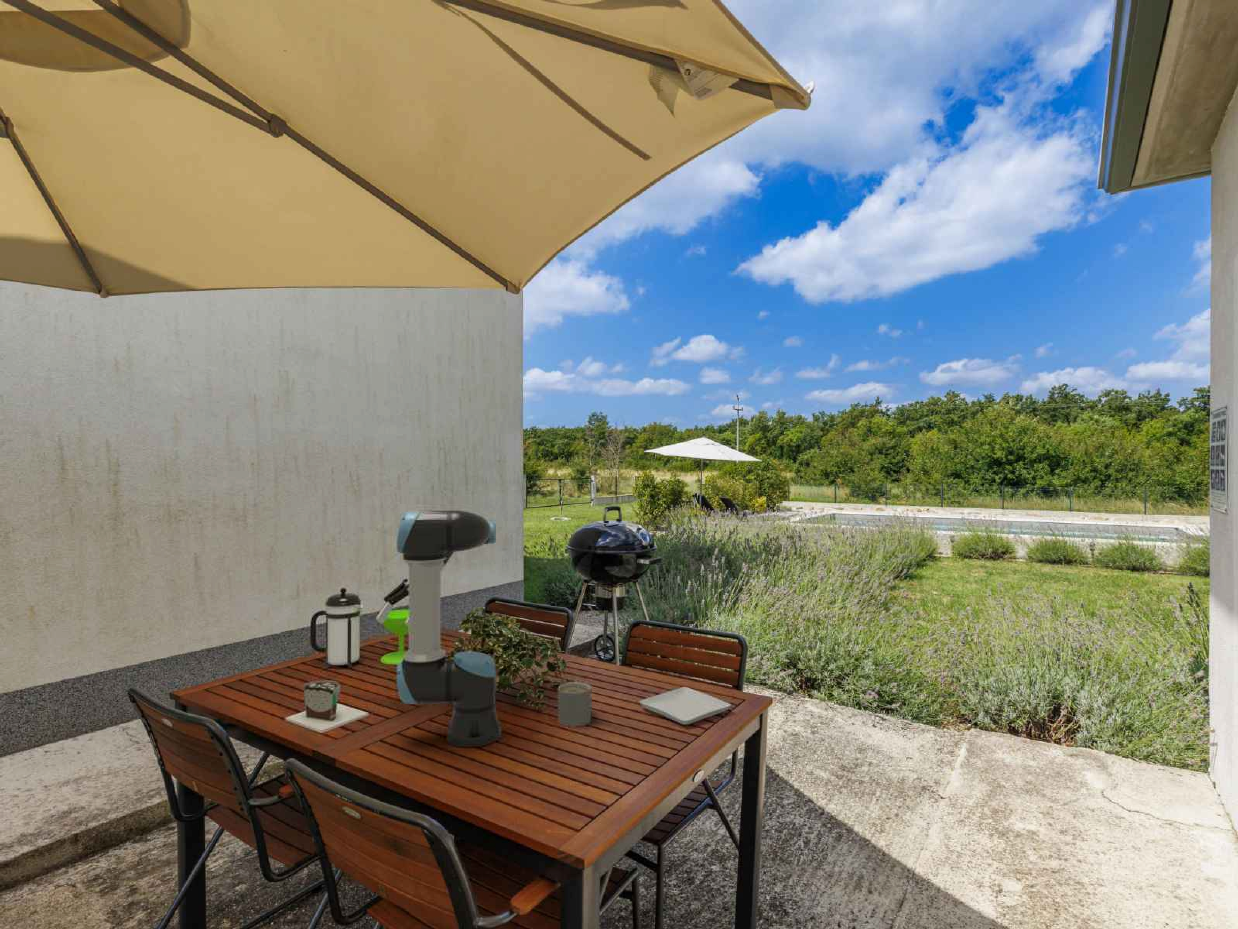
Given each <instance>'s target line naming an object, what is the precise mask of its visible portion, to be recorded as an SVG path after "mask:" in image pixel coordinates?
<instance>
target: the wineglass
mask: <svg viewBox="0 0 1238 929" xmlns="http://www.w3.org/2000/svg"><path fill="white" fill-rule="evenodd" d="M408 617H409V609H396V610H391V611H390V613H389V614H388V616H387V617H386V619H385V620H384V622H383V623H381V624H382V626H383V628H385V630H386V631H388V632H390V633H391V634H395V635H398V651H393V652H390V653H389V652H388V653H385V654H384V655H383V656H382V657H381V658H380V662H381V664H385V665H398V663H399V662H401V661H403V655H404V654H405V653H406V652H407V651H408V650H405V635H406V634H409V627H408V626H407V625H406V624H405V622H406V620H407V619H408Z"/></svg>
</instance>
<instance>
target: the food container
mask: <svg viewBox="0 0 1238 929" xmlns="http://www.w3.org/2000/svg"><path fill="white" fill-rule="evenodd" d="M302 692H303V693H304V707H305V708H304V709H305V710H304V711H306V718H311V719H318V720H324V721H330V722H331V721H333V720H334V719H335V718H336V709H337V703H338V699H339V698H338V697H339V694H340V692H341V686H340V684H339V682H338V681H335V680H327V679H326V680H325V679H324V680H316V681H311V682H306V683H304V684H303V686H302Z"/></svg>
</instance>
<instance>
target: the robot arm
mask: <svg viewBox="0 0 1238 929" xmlns="http://www.w3.org/2000/svg"><path fill="white" fill-rule="evenodd" d="M496 524H497V523H495V522H494V521H488V520H487V519H486V518H484V517H483V516H481V515H479V514H476V513H473V512H469V511H465V510H410V511H406V512H404V514H402V516H401V520H400V523H399V526H398V531H397V539H396V550H397V552H398V554H399V553H400V554H402V559H403V561H404V563H406V564H407V565H408V579H407V578H404V579H403V580H402V582H401V583H400V584H399V585H398V586H396V587H395V588H394V589H393V590H392V591H390V592H389V593H388V594H387V595H386V596H384V598H383V601H384V602H385V604H384V605H383V606H382V608H381V610H380V612H379V613H378V615H377V616H376V618H375V620H376V621H378V623H380V624H382V623H383V622H384V620H385V619H386V617H387V616H388V614H389V613H390V611H393V609H394V605H396V604H397V603H399V602H400V601H401V600H403V599H405V598H406V597H408V610H409V617H408V619H407V620H406V622H405V624H406V625H407V626H408V627H409V632H408V650H406V651H407V652H406V653H405V654H404V655H403V661H401V662H399V663H398V664H397V666H396V684H397V686H396V688H397V692H398V695H399V699H400V701H401V702H402V703H404V704H405V705H418V706H419V705H423V704H426V705H427V704H442V703H443V704H444V703H452V704H453V712H452V714H451V717H450V722H449V726H448V727H447V730H446V741H447V742H448V743H449V744H450V745H452V746H455V747H459V748H478V747H479V748H480V747H483V746H487V745H490V744H494V743H495V742H496V741H498V740H499V739H500V738H501V736H502V725H501V723H500V721H499V717H498V712H497V709H496V676H497V674H496V673H497V672H496V662H495V660H494V658H493V657H492V656H491V655H489V654H486V653H483V652H479V651H463V652H462V651H461V652H457V653H454V655H453V657H452V658H447V656H446V655H447V654H446V651H445V650H444V649H442V648H441V582H442V580H441V576H442V574H441V572H442V571H443V569H444V568H445V567H446V565H447V564H448V562H449V561H450V560H451V558H452V556H453V555H454V553H455V552H463V551H468V550H471V549H475V548H479V547H482V546H483V545H489V544H495V543H496V540H497V525H496Z"/></svg>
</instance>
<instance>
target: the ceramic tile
mask: <svg viewBox="0 0 1238 929" xmlns="http://www.w3.org/2000/svg"><path fill="white" fill-rule="evenodd" d="M369 714H370V713H369V712H366V711H363V710H360V709H358V708H353V707H350V706H348V705H344V704H341V703H338V702H337V709H336V718H335V719H334V720H333V721H331V722H330V721H324V720H318V719H311V718H306V710H304V711H301V712H299V713H295V714H293V715H290V716H285V719H284V720H285V721H286V722H290V723H292V724H294V725H297V726H300V727H302V728H306V729H308V730H311V731H314V732H317V733H320V734H323V733H325V732H329V731H331V730H333V729H337V728H339V727H341V726H344V725H348V724H351V723H354V722H355V721H358V720H361V719H363V718H366V717H369Z"/></svg>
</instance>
